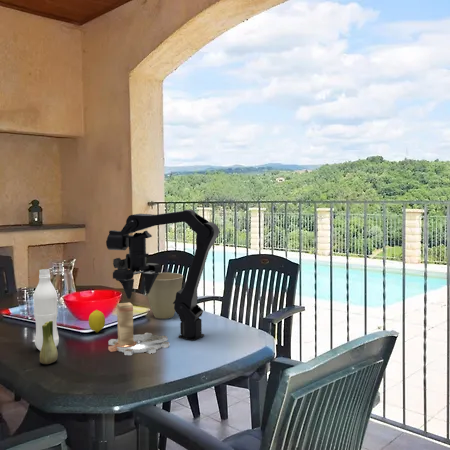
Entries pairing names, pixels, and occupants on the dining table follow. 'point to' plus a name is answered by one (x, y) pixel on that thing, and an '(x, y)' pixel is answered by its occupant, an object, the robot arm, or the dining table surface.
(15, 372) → the dining table surface
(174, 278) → the plant pot
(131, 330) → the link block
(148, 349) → the sprocket plate
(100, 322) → the lemon
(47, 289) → the water bottle
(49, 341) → the fennel bulb
